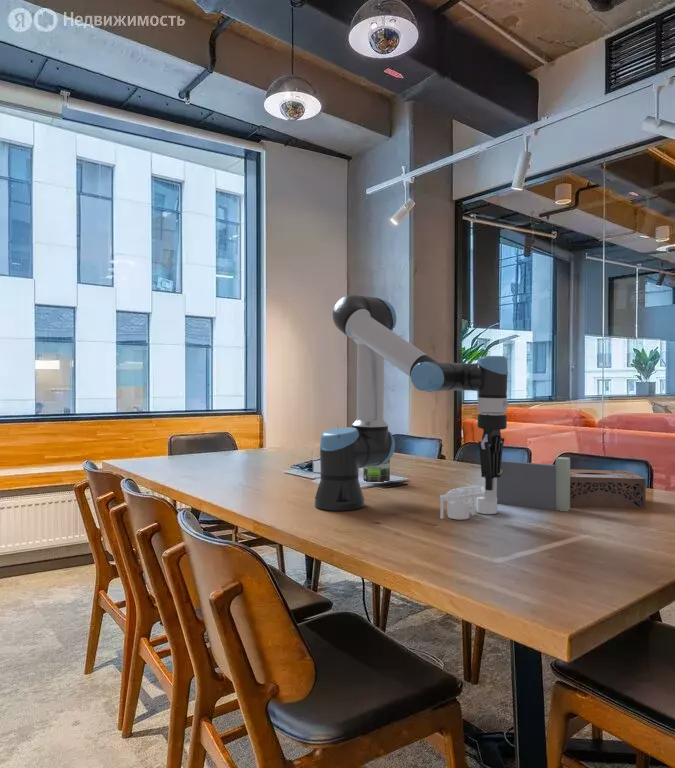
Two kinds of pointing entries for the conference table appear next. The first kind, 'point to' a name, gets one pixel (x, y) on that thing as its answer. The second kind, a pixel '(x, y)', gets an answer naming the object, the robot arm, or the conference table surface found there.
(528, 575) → the conference table surface
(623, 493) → the tissue box cover
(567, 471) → the door leaf
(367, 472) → the coffee can
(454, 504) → the white framed double cylinder
